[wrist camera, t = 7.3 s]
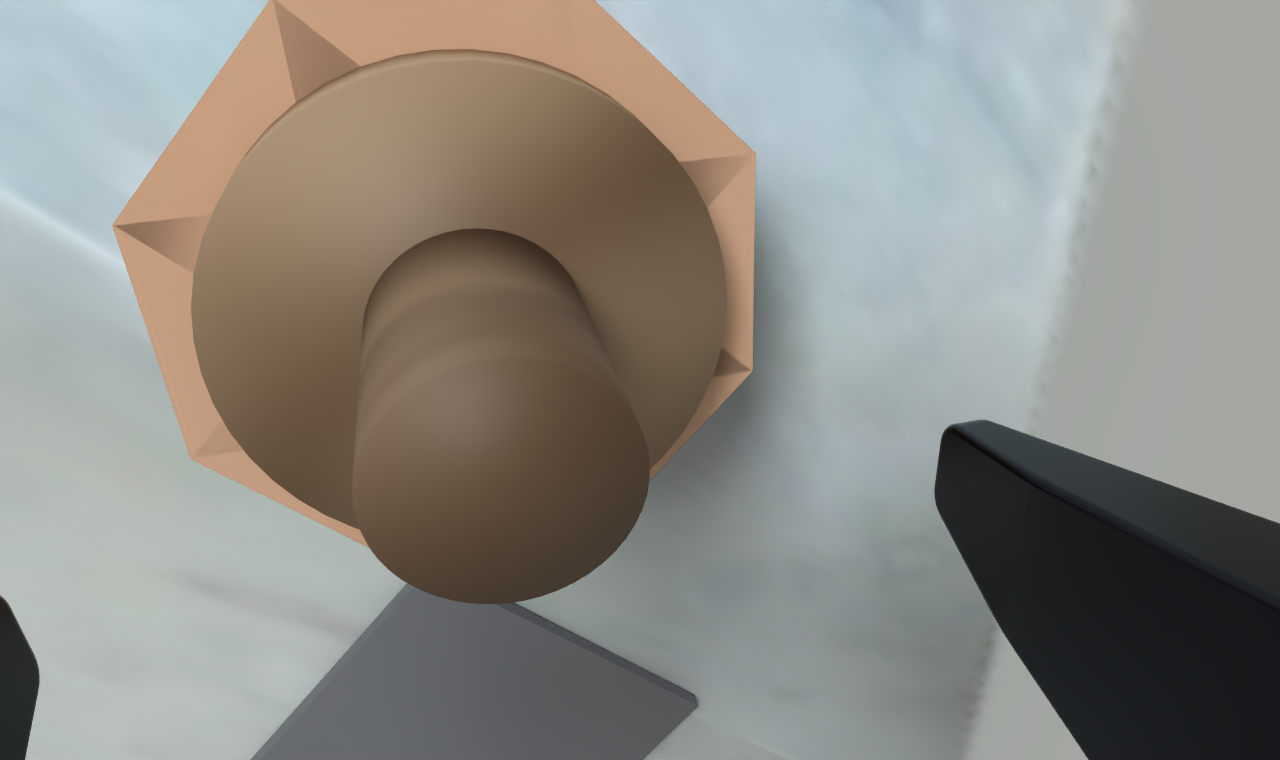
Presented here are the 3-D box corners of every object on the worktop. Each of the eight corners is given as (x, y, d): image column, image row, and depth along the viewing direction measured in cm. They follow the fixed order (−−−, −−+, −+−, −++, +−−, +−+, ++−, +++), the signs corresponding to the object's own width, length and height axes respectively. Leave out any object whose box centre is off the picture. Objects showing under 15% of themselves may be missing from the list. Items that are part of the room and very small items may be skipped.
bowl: (769, 180, 19) (862, 253, 15) (495, 489, 21) (518, 621, 17) (397, -168, 15) (398, -185, 11) (95, 260, 17) (11, 369, 13)
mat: (694, 694, 26) (698, 705, 26) (494, 889, 28) (495, 902, 28) (428, 559, 22) (428, 570, 21) (214, 800, 24) (212, 813, 23)
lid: (798, 261, 15) (958, 411, 11) (511, 575, 17) (552, 810, 13) (414, -81, 12) (428, -59, 7) (97, 357, 13) (-42, 584, 9)
